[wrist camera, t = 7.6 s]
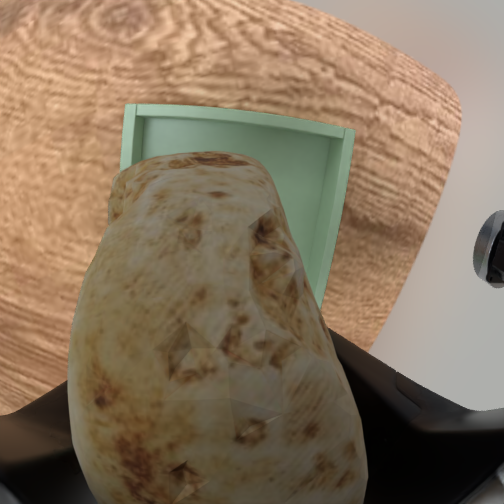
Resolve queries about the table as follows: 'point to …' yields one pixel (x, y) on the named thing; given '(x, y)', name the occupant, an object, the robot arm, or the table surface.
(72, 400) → the beige oval piece
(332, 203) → the tray
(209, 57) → the table surface
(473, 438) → the robot arm
